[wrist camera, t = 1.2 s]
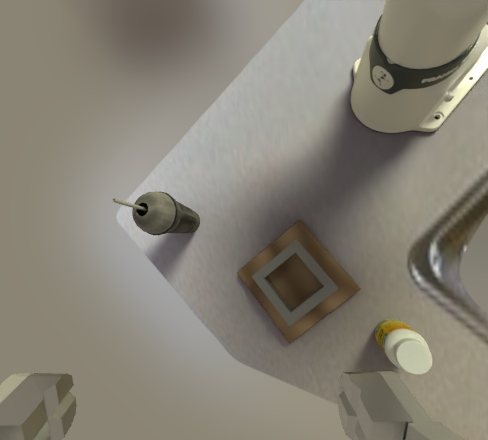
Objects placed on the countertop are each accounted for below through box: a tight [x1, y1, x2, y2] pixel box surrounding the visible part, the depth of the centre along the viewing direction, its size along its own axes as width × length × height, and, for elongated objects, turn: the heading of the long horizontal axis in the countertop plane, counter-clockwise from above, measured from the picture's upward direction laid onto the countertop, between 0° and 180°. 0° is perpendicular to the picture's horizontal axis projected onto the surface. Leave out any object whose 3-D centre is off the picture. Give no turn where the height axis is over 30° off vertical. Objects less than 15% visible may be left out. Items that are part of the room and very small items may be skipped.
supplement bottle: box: [375, 319, 432, 375], centre depth 37 cm, size 5×5×10 cm
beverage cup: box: [113, 192, 200, 235], centre depth 44 cm, size 7×7×20 cm
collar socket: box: [237, 220, 360, 343], centre depth 44 cm, size 15×15×5 cm
